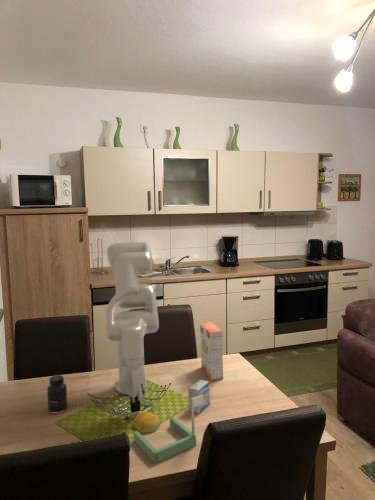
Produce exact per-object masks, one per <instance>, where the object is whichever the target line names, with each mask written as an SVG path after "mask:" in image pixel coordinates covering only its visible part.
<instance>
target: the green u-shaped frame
mask: <svg viewBox="0 0 375 500" xmlns="http://www.w3.org/2000/svg"><path fill="white" fill-rule="evenodd" d="M201 404H203V395H200V396H198V397H195V398H193V397H192V398H191V411H190V413H191V430H190V429H188V428H187V427H186V426H185V425H184V424H183V423H181V422H180V421H179V420H178V419H176V418H175V417H174V416H172V417H169V427H170V428H172V430H174V432H176V433H177V434H178V435H179V436H180V437H182V438H181V439H179V440H176V441H174V442H172V443H169V444H167V445H165V446H162V447H160V448H158V449H156V448H155V446H153V445H152V444H151V443H150V442H149V441H148V440H147V439H146V438H145V437H144V436H143V435H142V433H141V432H140V431H139V430H135V431H133V440H134V441H133V442H135V444H136V445H137V446H138V447H139V448H140V449H141V450H142V451H143V453H145V454H146V456H147V457H148V458H149V459H150V460H151V462H153V463H154V464H157V463H160V462H162V461H164V460H167V459H168V458H170V457H173V456H175V455H177V454H179V453H182V452H185V451H186V450H188V449H191V448H193V447H194V446H197V436H196V434H195V412H194V407H196V406H199V405H201Z"/></svg>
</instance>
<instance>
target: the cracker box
mask: <svg viewBox="0 0 375 500" xmlns="http://www.w3.org/2000/svg"><path fill="white" fill-rule="evenodd" d="M199 324H200V325H199V327H200V355H201V356H200V357H201V359H200V361H201V362H200V363H201V368H202V369H203V371H204V372H205V374H206V375H207V377H208V378H209V380H210V381H215V380H221V379H222V380H223V379H224V365H223V364H224V363H223V362H224V359H223V357H224V356H223V331H222V330H221V329H220V328H219V327H218V326H217V325H216V324H215V323H214V322H213V321H207V322H206V321H205V322H200V323H199Z"/></svg>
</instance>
